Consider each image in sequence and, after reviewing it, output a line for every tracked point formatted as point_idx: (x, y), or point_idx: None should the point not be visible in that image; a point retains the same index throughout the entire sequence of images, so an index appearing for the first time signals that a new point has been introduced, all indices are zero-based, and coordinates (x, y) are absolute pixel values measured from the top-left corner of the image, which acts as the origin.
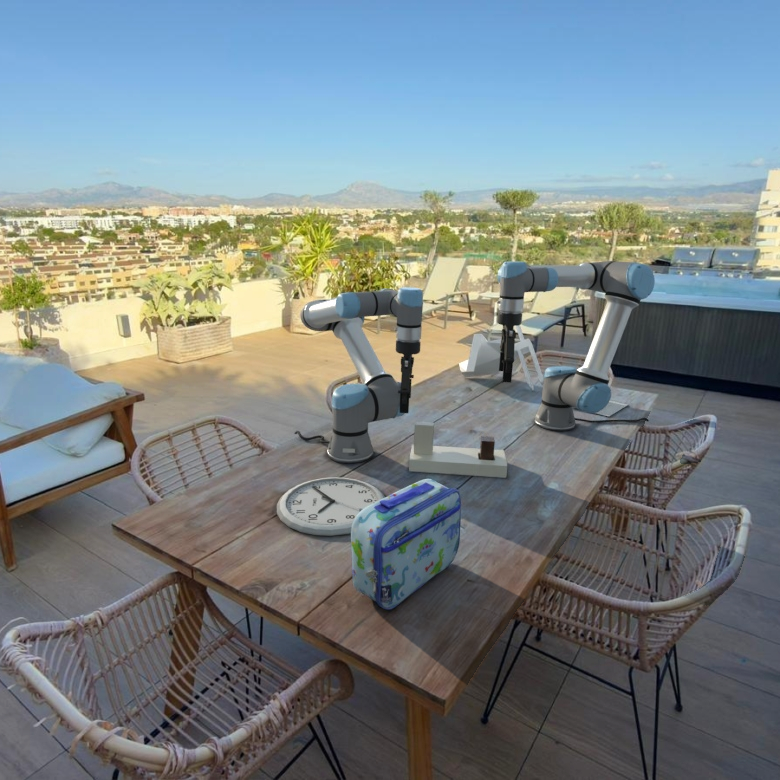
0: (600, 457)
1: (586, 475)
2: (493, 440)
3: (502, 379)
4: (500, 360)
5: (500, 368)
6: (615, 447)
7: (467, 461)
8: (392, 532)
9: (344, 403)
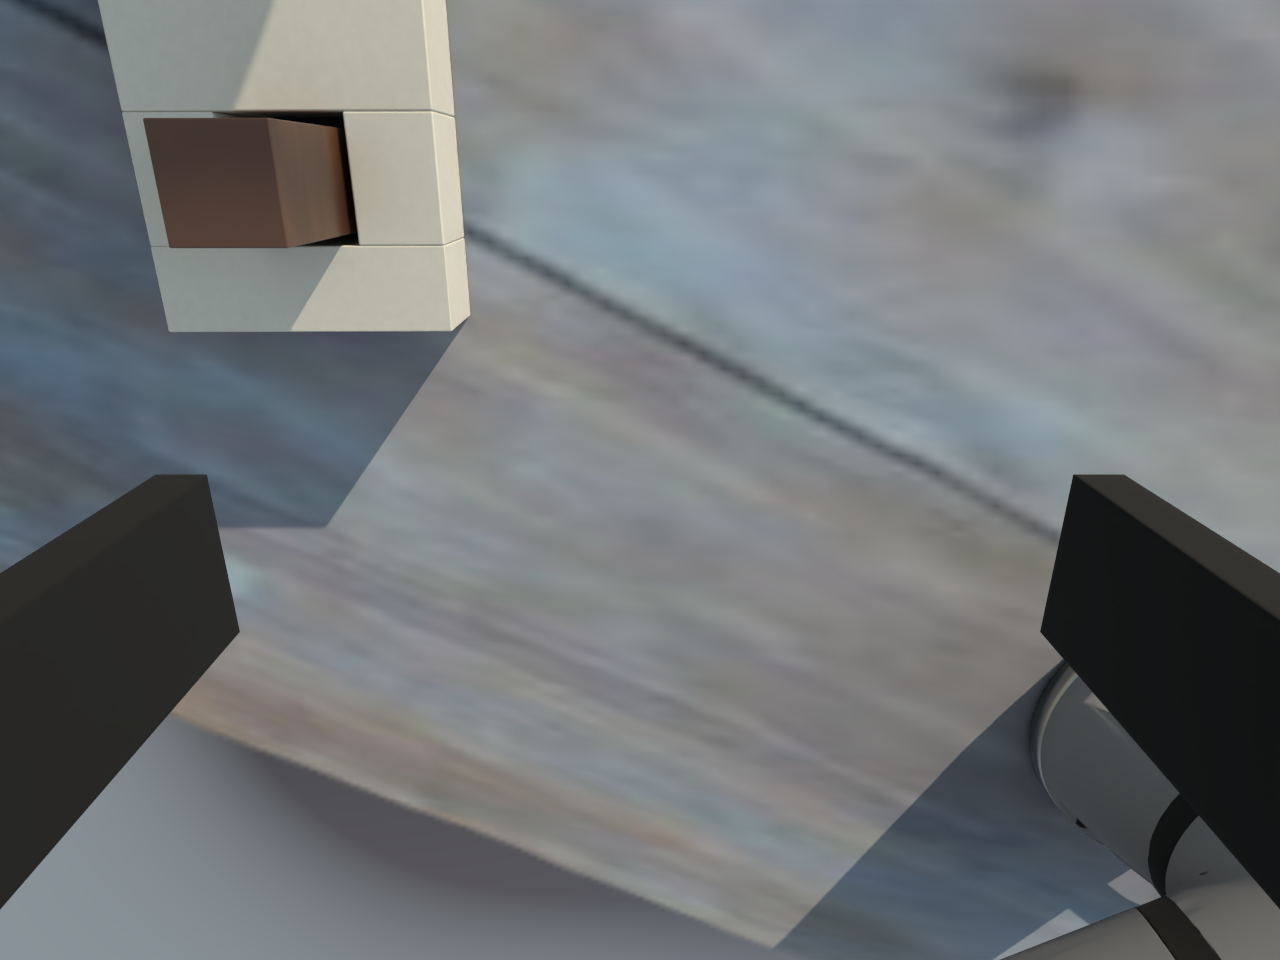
0: (646, 851)
1: (394, 747)
2: (194, 238)
3: (165, 494)
4: (1250, 617)
5: (1103, 526)
6: (793, 939)
7: (138, 6)
8: None
9: None
